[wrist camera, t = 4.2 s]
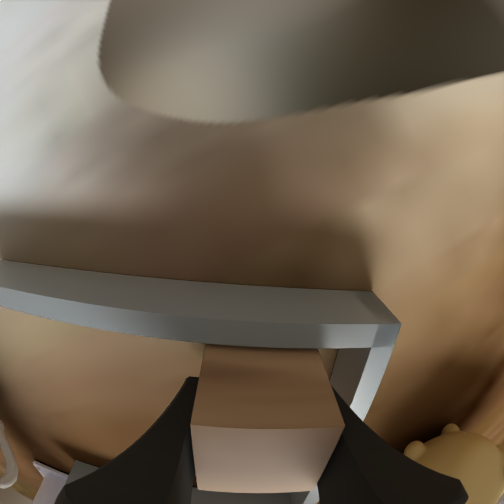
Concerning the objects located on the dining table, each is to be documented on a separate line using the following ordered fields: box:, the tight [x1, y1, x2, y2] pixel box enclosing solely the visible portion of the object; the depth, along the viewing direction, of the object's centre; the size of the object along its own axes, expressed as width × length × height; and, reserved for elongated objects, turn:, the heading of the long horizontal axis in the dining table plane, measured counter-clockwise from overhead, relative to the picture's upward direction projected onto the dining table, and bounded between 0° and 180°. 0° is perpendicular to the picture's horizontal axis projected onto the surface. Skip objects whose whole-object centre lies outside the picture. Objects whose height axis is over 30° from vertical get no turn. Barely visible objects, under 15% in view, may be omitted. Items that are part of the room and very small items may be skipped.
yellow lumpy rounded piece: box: [404, 423, 504, 504], centre depth 12 cm, size 10×12×11 cm
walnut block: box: [190, 343, 345, 493], centre depth 9 cm, size 4×4×5 cm
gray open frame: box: [0, 260, 401, 504], centre depth 13 cm, size 19×19×3 cm
